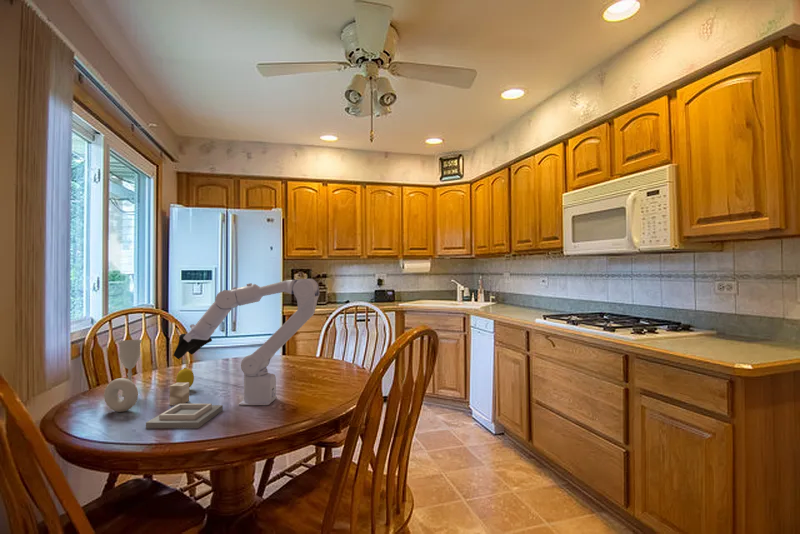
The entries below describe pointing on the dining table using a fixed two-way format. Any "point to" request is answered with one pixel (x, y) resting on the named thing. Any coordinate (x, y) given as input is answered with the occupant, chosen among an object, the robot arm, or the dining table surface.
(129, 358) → the chalice
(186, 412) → the base
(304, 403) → the dining table surface
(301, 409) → the dining table surface
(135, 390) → the donut
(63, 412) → the dining table surface
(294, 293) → the robot arm
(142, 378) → the dining table surface
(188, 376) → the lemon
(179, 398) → the block
